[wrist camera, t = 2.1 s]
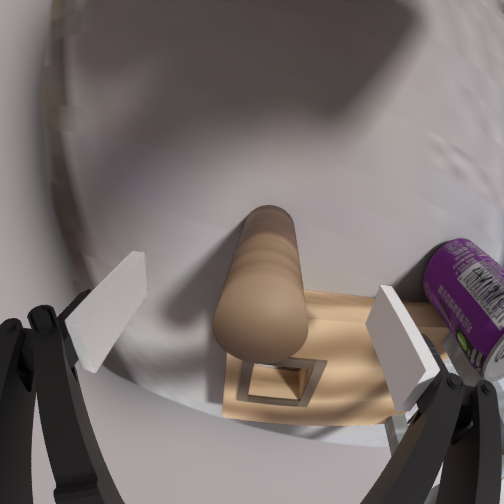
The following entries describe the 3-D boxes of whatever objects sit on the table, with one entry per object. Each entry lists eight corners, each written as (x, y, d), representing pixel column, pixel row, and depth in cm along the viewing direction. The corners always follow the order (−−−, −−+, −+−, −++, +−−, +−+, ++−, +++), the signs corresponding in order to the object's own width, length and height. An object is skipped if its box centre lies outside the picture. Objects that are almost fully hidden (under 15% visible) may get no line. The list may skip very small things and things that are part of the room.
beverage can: (410, 298, 24) (462, 392, 13) (432, 230, 21) (515, 308, 10) (460, 300, 24) (515, 378, 13) (483, 239, 21) (559, 306, 10)
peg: (246, 202, 21) (214, 284, 11) (298, 209, 21) (318, 299, 11) (241, 249, 23) (211, 356, 12) (290, 256, 23) (297, 367, 12)
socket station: (237, 280, 24) (180, 519, 7) (448, 304, 24) (532, 455, 6) (226, 390, 31) (198, 539, 14) (390, 399, 31) (418, 525, 13)
